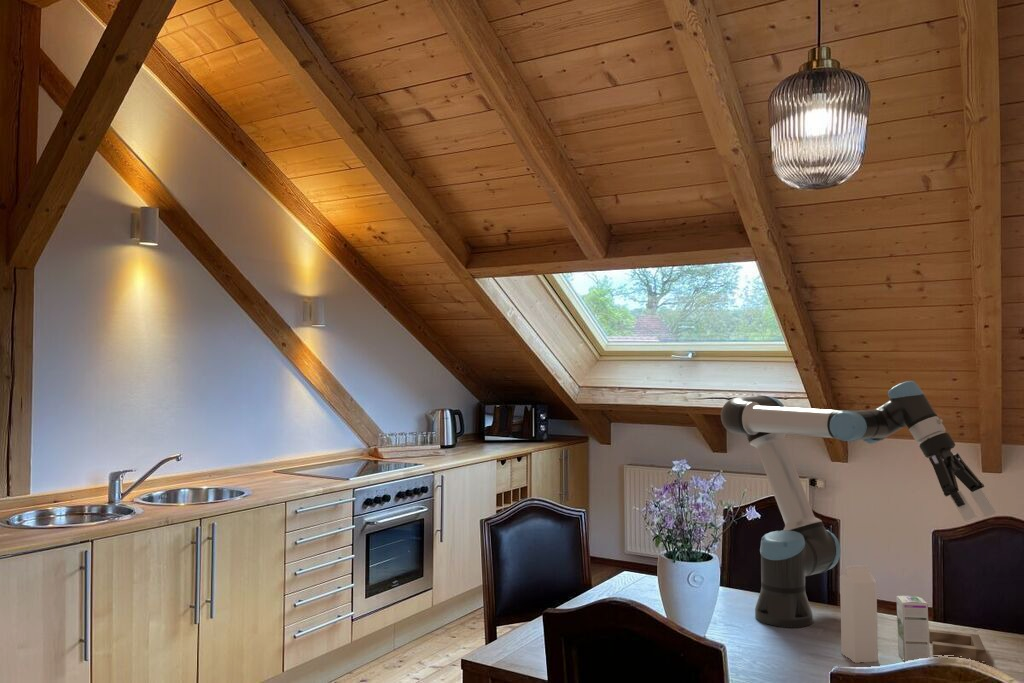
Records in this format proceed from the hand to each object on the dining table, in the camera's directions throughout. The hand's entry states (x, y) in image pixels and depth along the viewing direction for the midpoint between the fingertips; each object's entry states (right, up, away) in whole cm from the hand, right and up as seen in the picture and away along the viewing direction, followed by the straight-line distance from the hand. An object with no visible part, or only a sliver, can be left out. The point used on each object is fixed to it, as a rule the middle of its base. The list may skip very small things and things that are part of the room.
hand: (981, 517), depth 189 cm
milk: (-29, -34, 0) cm, 45 cm away
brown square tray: (-5, -34, +4) cm, 34 cm away
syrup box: (-17, -34, -2) cm, 38 cm away
